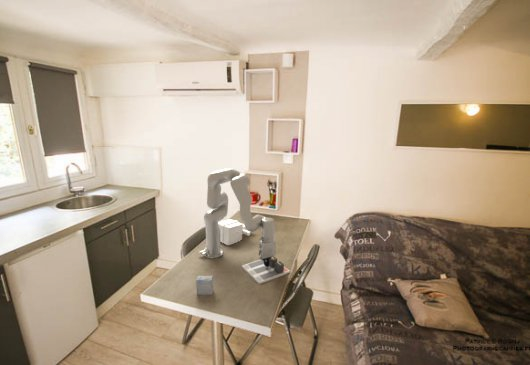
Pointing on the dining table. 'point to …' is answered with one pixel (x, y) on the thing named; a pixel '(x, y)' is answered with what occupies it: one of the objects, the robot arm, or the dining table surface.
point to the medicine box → (204, 285)
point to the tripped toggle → (272, 261)
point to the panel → (264, 271)
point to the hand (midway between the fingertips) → (266, 265)
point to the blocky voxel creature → (231, 231)
